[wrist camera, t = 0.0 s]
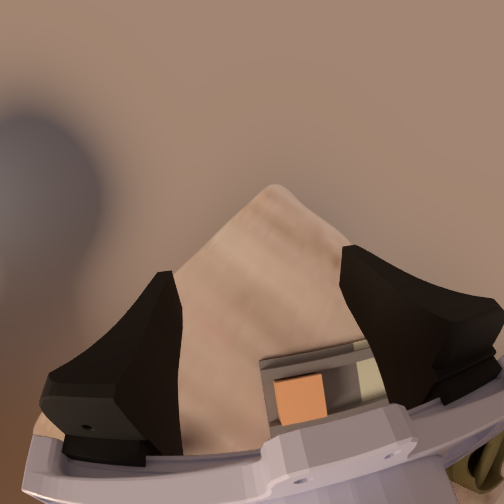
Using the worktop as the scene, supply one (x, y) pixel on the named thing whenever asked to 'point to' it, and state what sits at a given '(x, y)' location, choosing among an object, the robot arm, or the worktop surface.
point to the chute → (328, 381)
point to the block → (300, 398)
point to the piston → (480, 467)
